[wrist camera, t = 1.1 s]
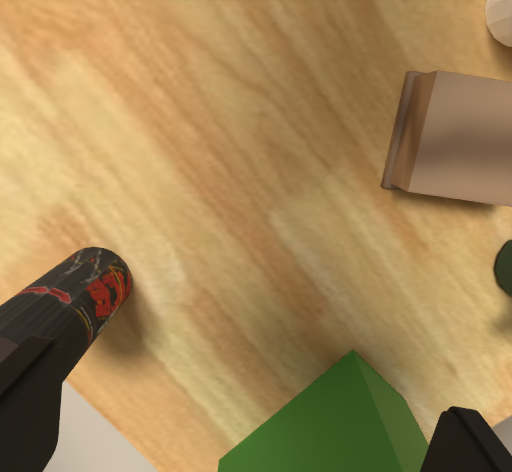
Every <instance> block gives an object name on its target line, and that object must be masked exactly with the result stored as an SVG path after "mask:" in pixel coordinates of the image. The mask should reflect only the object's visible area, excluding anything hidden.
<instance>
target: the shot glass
mask: <svg viewBox="0 0 512 472" xmlns="http://www.w3.org/2000/svg"><path fill="white" fill-rule="evenodd" d="M485 16H486V24H487V27H488V29H489V30H490V32H491V34H492V36H493V37H494V39H496V40H497V41H499V42H500V43H502V44H503V45H505V46H509V47H512V0H487V2H486V6H485Z"/></svg>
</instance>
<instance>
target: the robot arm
mask: <svg viewBox="0 0 512 472" xmlns="http://www.w3.org/2000/svg"><path fill="white" fill-rule="evenodd" d="M63 364H64V348H63V347H62V346H58V342H57V340H56V339H52V338H46V337H41V336H35V335H31V336H29V337H28V338H27V339H26V340H25V341H23V342H22V343H21V344H20V345H19V346H18V347H17V348H16V349H15V350H14V351H13V352H12V353H11V354H10V355H9V356H7V357H6V358H5V359H4V360H3V361H2V362H1V363H0V472H43V470H44V468H45V467H46V465H47V464H48V462H49V460H50V459H51V457H52V455H53V453H54V451H55V449H56V446H57V442H58V434H59V420H60V406H61V391H62V378H63ZM420 472H512V456H511V454H510V453H509V452H508V450H507V449H506V448H505V446H504V445H503V444H502V442H501V441H500V440H499V438H498V437H497V436H496V434H495V433H494V432H493V430H492V429H491V428H490V426H489V425H488V424H487V422H486V421H485V420H484V418H483V417H482V416H481V414H480V413H479V412H478V411H476V410H473V409H467V408H461V407H455V406H452V407H450V408H449V409H448V410H447V411H443V412H442V413H441V415H440V417H439V420H438V423H437V426H436V428H435V431H434V434H433V437H432V439H431V442H430V445H429V447H428V450H427V453H426V456H425V458H424V461H423V464H422V467H421V469H420Z"/></svg>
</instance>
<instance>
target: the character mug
mask: <svg viewBox="0 0 512 472" xmlns="http://www.w3.org/2000/svg"><path fill="white" fill-rule="evenodd" d="M495 271H496V274H497V277H498V280H499V283H500V286H501V287H502V288H503V289H504V290H505V291H506V292H507V293H508V294H509V295H510V296H511V297H512V240H510V241H509V242H508V243H507V244H506V246H505V247H504V248H503V250H502V251H501V252H500V254H499V257H498V261H497V265H496V270H495Z"/></svg>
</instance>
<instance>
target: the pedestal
mask: <svg viewBox="0 0 512 472" xmlns="http://www.w3.org/2000/svg"><path fill="white" fill-rule="evenodd" d="M381 186H382V187H384V188H391V189H398V190H404V191H407V192H413V193H420V194H427V195H433V196H440V197H447V198H454V199H461V200H467V201H474V202H481V203H488V204H495V205H501V206H508V207H512V82H509V81H502V80H496V79H490V78H483V77H477V76H470V75H464V74H458V73H451V72H445V71H438V70H437V71H434V72H430V73H422V72H416V71H408V72H406V77H405V81H404V85H403V90H402V94H401V99H400V103H399V108H398V112H397V116H396V121H395V125H394V130H393V134H392V138H391V143H390V147H389V152H388V156H387V161H386V165H385V169H384V174H383V178H382V183H381Z"/></svg>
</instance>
